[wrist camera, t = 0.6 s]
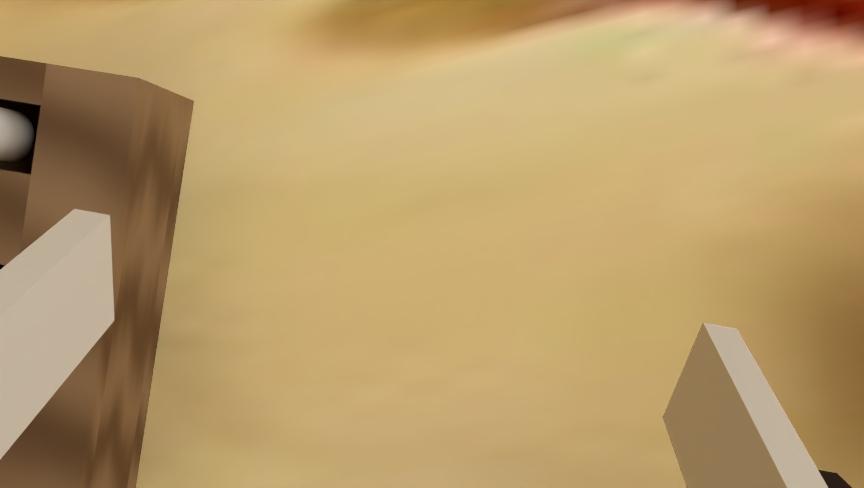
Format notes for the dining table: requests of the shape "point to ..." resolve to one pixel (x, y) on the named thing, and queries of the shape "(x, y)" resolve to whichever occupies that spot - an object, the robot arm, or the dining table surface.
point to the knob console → (131, 254)
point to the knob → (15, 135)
